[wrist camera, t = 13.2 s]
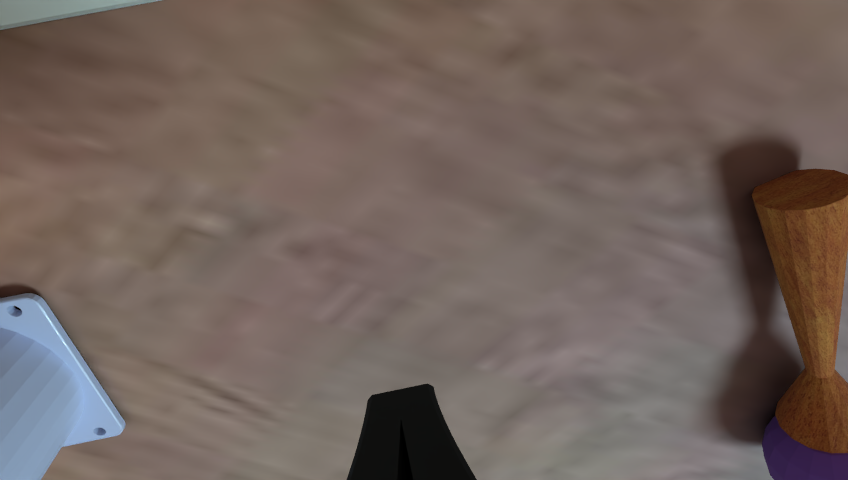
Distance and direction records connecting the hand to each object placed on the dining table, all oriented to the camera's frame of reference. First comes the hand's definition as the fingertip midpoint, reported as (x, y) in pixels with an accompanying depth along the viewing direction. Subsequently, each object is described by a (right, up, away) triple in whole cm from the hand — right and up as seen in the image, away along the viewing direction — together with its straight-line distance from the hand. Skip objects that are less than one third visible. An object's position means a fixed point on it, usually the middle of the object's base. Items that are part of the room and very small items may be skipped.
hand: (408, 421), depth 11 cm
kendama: (+19, -1, +15) cm, 25 cm away
